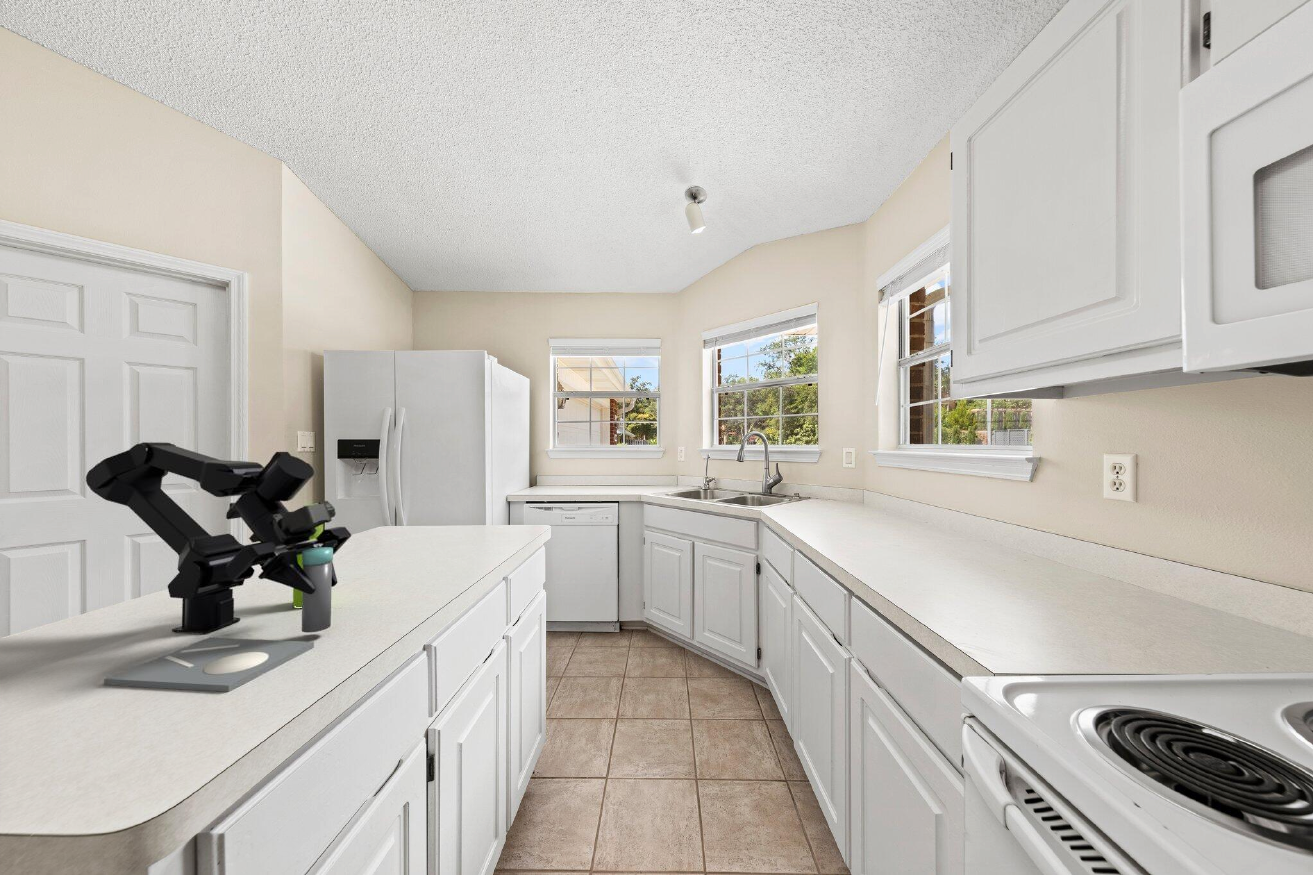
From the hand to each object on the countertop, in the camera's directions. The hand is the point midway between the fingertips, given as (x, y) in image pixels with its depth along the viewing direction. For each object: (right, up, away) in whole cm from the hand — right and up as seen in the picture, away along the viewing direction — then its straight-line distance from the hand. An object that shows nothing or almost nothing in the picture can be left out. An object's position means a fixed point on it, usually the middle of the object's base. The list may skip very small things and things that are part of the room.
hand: (324, 588), depth 81 cm
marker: (-1, -7, 0) cm, 7 cm away
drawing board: (-8, -8, -10) cm, 15 cm away
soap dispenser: (-14, -8, +17) cm, 24 cm away
